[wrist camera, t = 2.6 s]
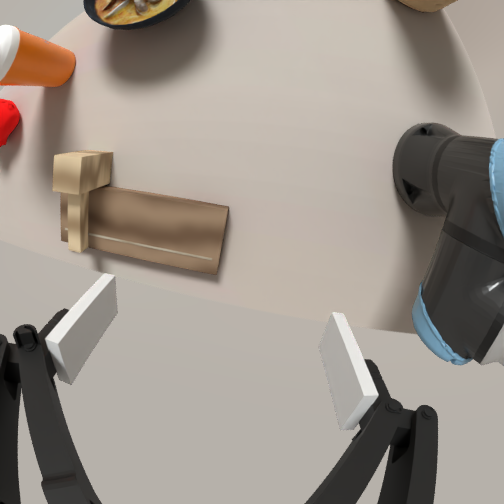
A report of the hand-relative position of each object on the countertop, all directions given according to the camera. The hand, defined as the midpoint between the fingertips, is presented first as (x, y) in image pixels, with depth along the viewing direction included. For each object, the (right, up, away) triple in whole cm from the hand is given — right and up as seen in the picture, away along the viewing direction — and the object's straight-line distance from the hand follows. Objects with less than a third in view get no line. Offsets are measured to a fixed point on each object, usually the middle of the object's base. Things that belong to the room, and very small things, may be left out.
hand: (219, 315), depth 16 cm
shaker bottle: (-31, +35, +16) cm, 49 cm away
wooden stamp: (-23, +13, +24) cm, 36 cm away
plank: (-16, +8, +26) cm, 32 cm away
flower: (-44, +29, +18) cm, 56 cm away
